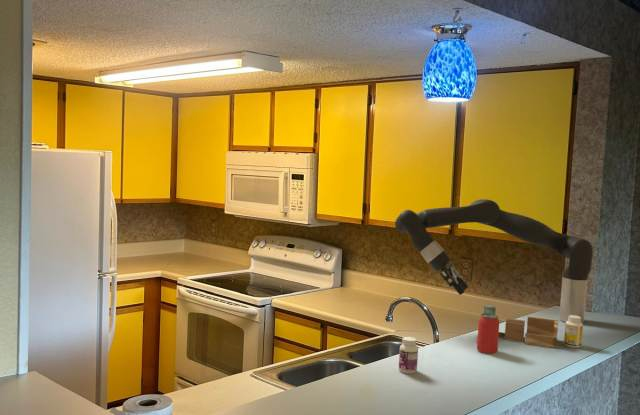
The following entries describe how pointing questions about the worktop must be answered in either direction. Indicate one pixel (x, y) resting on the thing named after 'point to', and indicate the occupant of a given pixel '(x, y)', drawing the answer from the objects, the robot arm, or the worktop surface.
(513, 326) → the block
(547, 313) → the worktop surface
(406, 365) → the pill bottle
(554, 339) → the brown u-shaped block
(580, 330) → the supplement bottle
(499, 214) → the robot arm
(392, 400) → the worktop surface
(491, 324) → the beer can
